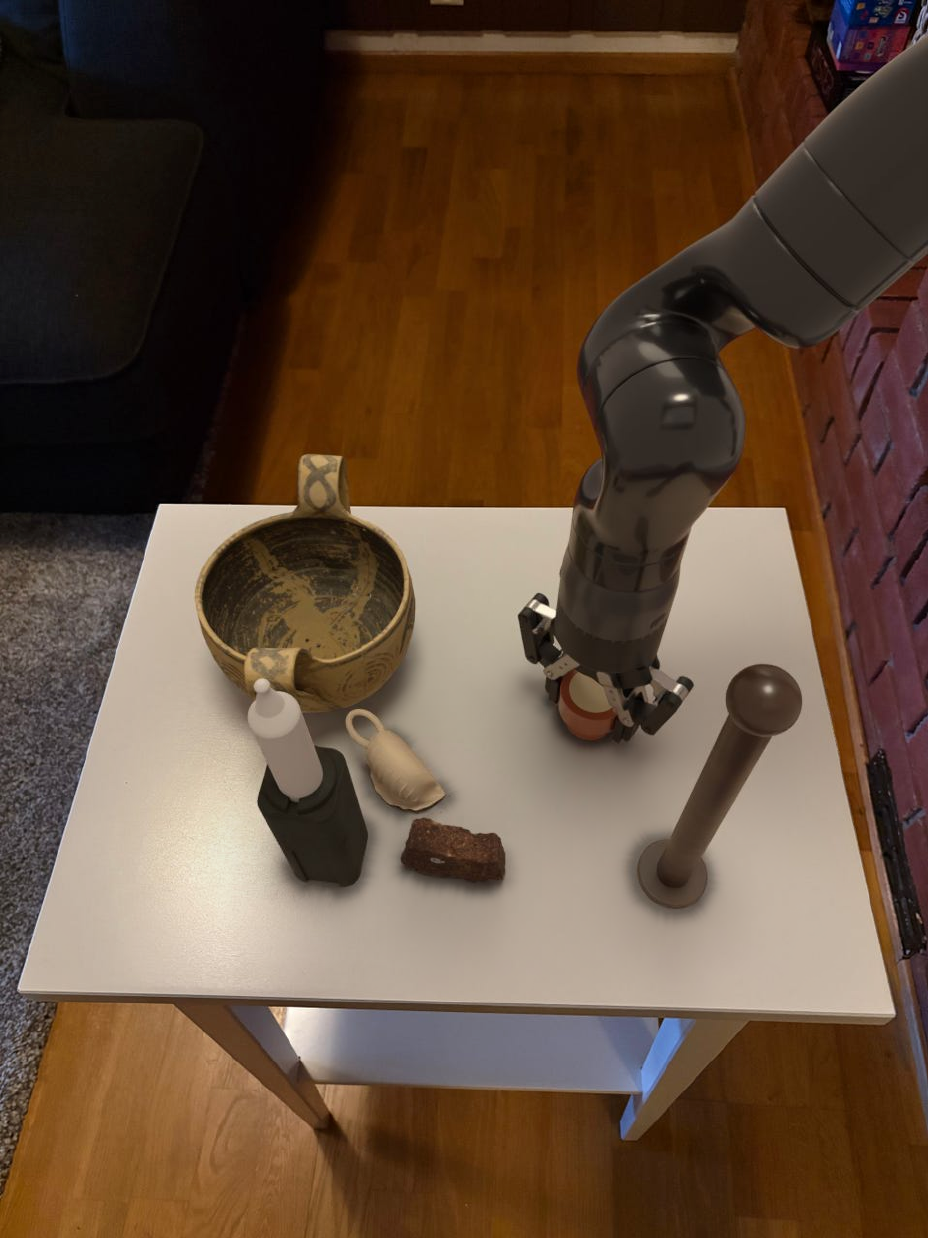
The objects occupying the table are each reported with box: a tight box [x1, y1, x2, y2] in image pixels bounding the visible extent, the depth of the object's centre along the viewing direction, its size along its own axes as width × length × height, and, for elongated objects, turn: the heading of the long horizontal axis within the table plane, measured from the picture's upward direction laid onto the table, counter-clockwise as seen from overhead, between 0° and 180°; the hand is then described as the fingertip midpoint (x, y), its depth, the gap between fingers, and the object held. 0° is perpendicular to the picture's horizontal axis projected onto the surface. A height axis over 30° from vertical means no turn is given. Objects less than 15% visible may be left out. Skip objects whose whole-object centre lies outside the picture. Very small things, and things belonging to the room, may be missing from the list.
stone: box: [400, 817, 506, 884], centre depth 63 cm, size 8×3×5 cm, turn 80°
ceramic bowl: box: [194, 453, 416, 713], centre depth 69 cm, size 22×17×15 cm
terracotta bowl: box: [557, 669, 618, 741], centre depth 70 cm, size 5×5×4 cm
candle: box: [247, 678, 369, 888], centre depth 56 cm, size 5×5×25 cm
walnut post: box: [637, 663, 803, 909], centre depth 53 cm, size 5×5×28 cm
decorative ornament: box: [345, 708, 446, 812], centre depth 67 cm, size 4×8×5 cm, turn 37°
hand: (589, 713), depth 71 cm, fingers closed on terracotta bowl, 5 cm apart
